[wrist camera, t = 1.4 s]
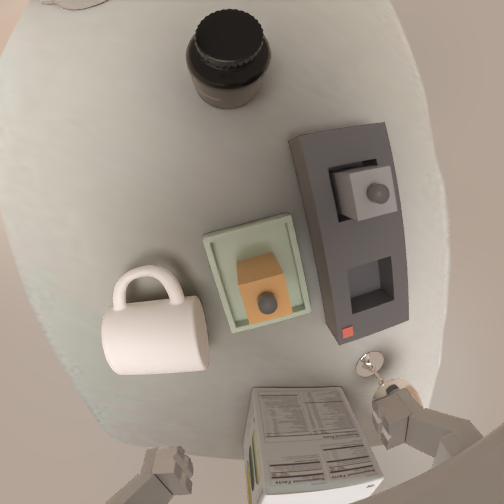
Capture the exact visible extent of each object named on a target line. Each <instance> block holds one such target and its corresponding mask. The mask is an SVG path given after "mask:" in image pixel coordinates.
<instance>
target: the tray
mask: <svg viewBox="0 0 504 504" xmlns="http://www.w3.org/2000/svg"><path fill="white" fill-rule="evenodd" d="M202 240H203V244H204V247H205V250H206V254H207V257H208V260H209V263H210V267H211V270H212V273H213V276H214V280H215V283H216V286H217V289H218V292H219V295H220V299H221V302H222V305H223V308H224V311H225V314H226V317H227V320H228V323H229V326H230V329H231V332H232V334H233V333H237V332H241V331H245V330H249V329H253V328H257V327H261V326H264V325H268V324H272V323H276V322H279V321H283V320H287V319H290V318H294V317H298V316H301V315H305V314H308V313H311V307H310V302H309V297H308V292H307V287H306V282H305V277H304V272H303V267H302V262H301V257H300V253H299V248H298V243H297V239H296V234H295V230H294V225H293V221H292V216H291V215H290V214H289V213H284V214H280V215H276V216H272V217H268V218H264V219H260V220H257V221H253V222H249V223H245V224H241V225H238V226H234V227H230V228H226V229H223V230H219V231H215V232H212V233H208V234H204V235H203V238H202ZM270 252H273V254H274V256H275V257H276V259H277V261H278V263H279V265H280V267H281V269H282V271H283V273H284V276H285V280H286V285H287V289H288V293H289V298H290V302H291V307H292V311H293V314H290V315H286V316H283V317H279V318H275V319H271V320H268V321H264V322H260V323H256V324H252V325H250V324H249V321H248V317H247V314H246V310H245V307H244V304H243V300H242V297H241V293H240V290H239V287H238V278H237V266H236V261H240V260H244V259H247V258H251V257H255V256H259V255H263V254H266V253H270Z"/></svg>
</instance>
